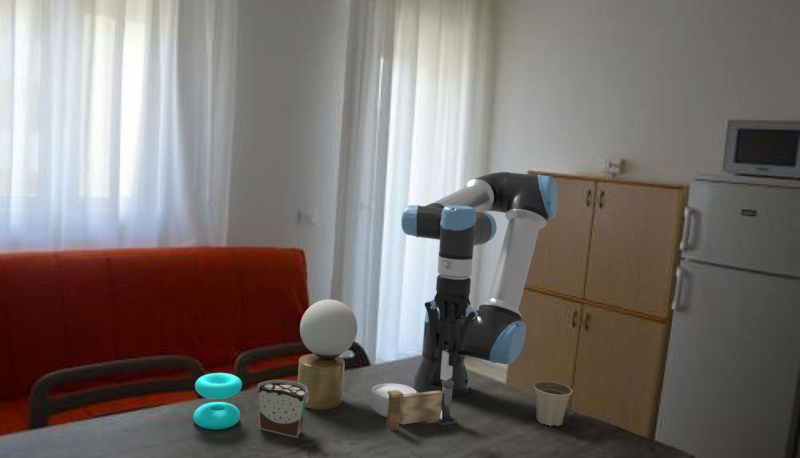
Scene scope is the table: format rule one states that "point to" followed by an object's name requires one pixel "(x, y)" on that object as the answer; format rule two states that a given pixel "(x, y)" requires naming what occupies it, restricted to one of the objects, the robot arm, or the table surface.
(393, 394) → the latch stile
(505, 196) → the robot arm
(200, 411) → the donuts
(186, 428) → the table surface
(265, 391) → the food container
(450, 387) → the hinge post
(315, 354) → the lamp
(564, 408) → the flower pot
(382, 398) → the ramekin
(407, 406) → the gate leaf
